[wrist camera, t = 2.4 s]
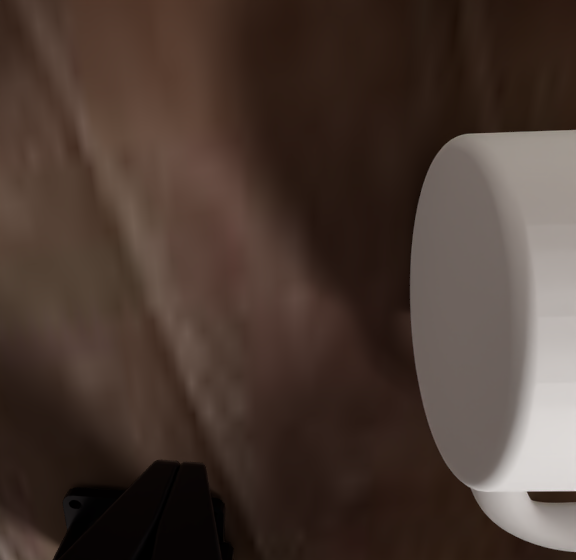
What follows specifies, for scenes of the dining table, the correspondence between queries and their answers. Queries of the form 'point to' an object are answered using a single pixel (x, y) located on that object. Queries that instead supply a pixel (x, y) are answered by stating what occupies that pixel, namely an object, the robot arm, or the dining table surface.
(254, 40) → the dining table surface
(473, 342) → the mug
